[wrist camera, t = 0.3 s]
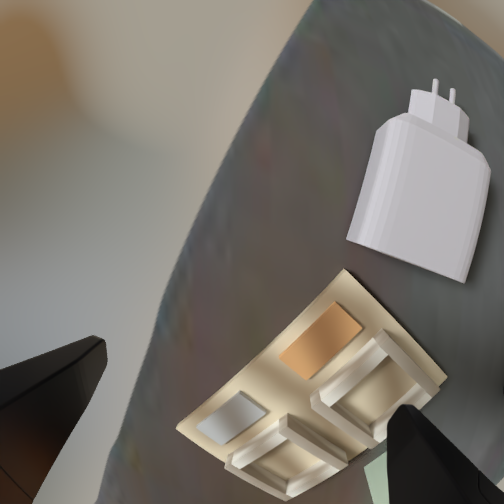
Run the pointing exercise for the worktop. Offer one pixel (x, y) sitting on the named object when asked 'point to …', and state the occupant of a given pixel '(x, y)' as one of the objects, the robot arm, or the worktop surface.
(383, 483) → the plug
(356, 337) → the socket board
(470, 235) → the charger
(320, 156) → the worktop surface
